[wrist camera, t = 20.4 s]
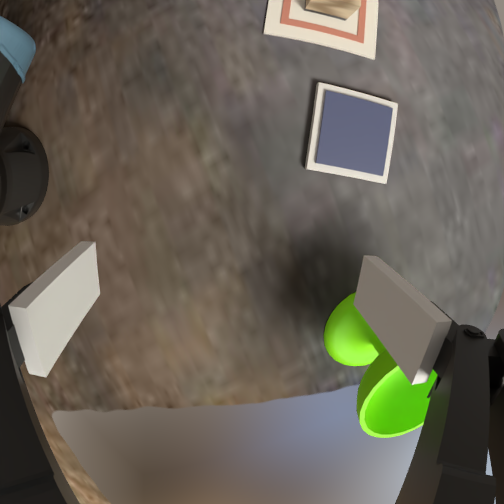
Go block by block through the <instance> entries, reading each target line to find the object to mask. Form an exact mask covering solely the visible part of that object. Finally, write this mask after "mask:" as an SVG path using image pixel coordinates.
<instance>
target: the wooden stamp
mask: <svg viewBox="0 0 504 504" xmlns="http://www.w3.org/2000/svg"><path fill="white" fill-rule="evenodd" d="M360 7H361V0H305V7H304V11H308V12H313V13H317V14H321V15H325V16H329V17H333V18H337V19H340V20H344V21H345V20H346V19H348V18H349V17H350V16H351V15H352V14H353V13H354V12H355V11H356V10H358V9H359V8H360Z"/></svg>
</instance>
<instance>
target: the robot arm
mask: <svg viewBox="0 0 504 504" xmlns="http://www.w3.org/2000/svg"><path fill="white" fill-rule="evenodd" d="M35 52H36V45H35V42H34V40H33V39H32V37H31V36H30V35H29V34H27V33H26V32H25V31H24V30H22V29H21V28H19V27H18V26H16V25H15V24H13V23H12V22H10V21H8V20H7V19H5V18H3V17H1V16H0V225H5V226H10V225H15V224H18V223H20V222H23V221H25V220H27V219H28V218H30V217H31V216H32V215H33V214H35V212H36V211H37V210H38V209H39V207H40V206H41V204H42V202H43V200H44V197H45V194H46V191H47V186H48V177H49V170H48V161H47V157H46V153H45V151H44V148H43V146H42V144H41V142H40V141H39V139H38V138H37V137H36V136H35V135H34V134H33V133H32V132H31V131H29V130H27V129H25V128H22V127H5V128H3V127H4V124H5V121H6V119H7V116H8V114H9V111H10V109H11V107H12V104H13V102H14V100H15V97H16V95H17V93H18V91H19V88H20V86H21V84H22V83H24V81H25V75H26V72H27V70H28V68H29V66H30V64H31V62H32V59H33V57H34V55H35ZM99 295H100V288H99V279H98V269H97V258H96V245H95V242H86V241H81V242H80V243H79V244H78V245H76V246H75V247H74V248H73V249H71V250H70V251H69V252H68V253H67V254H65V255H64V256H63V257H62V258H61V259H59V260H58V261H57V262H56V263H55V264H54V265H52V266H51V267H50V268H49V269H48V270H47V271H45V272H44V273H43V274H42V275H41V276H40V277H39V278H38V279H36V280H35V281H34V282H32V283H30V284H28V285H26V286H24V287H23V288H22V289H21V290H19V291H18V292H17V294H15V295H14V296H13V297H12V298H11V299H10V300H9V301H8V302H6V303H5V304H4V305H3V306H2V307H1V305H0V504H80V503H79V502H78V500H77V498H76V496H75V495H74V493H73V491H72V489H71V488H70V486H69V484H68V482H67V480H66V478H65V477H64V475H63V473H62V471H61V469H60V467H59V465H58V463H57V461H56V459H55V457H54V455H53V452H52V450H51V448H50V446H49V444H48V441H47V439H46V437H45V435H44V432H43V430H42V427H41V425H40V423H39V420H38V417H37V415H36V412H35V410H34V407H33V404H32V402H31V399H30V396H29V393H28V390H27V387H26V384H25V381H24V378H23V375H22V372H21V369H20V366H21V365H22V363H23V362H24V361H25V363H26V366H27V369H28V372H29V374H33V375H38V376H42V377H47V375H48V373H49V372H50V370H51V368H52V367H53V365H54V363H55V362H56V360H57V359H58V357H59V355H60V354H61V352H62V351H63V349H64V347H65V346H66V344H67V343H68V341H69V340H70V338H71V336H72V335H73V333H74V332H75V330H76V329H77V327H78V326H79V324H80V323H81V321H82V320H83V318H84V317H85V315H86V314H87V312H88V311H89V309H90V308H91V306H92V305H93V304H94V302H95V301H96V299H97V298H98V296H99ZM353 305H354V306H355V307H356V309H357V310H358V311H359V313H360V314H361V315H362V317H363V318H364V319H365V321H366V322H367V323H368V325H369V326H370V327H371V329H372V330H373V331H374V333H375V334H376V336H377V337H378V338H379V340H380V341H381V342H382V344H383V345H384V347H385V348H386V349H387V351H388V352H389V354H390V355H391V356H392V358H393V359H394V361H395V362H396V363H397V365H398V366H399V368H400V369H401V370H402V372H403V373H404V375H405V376H406V378H407V379H408V380H409V382H410V383H411V385H413V384H419V383H425V382H427V381H428V379H429V376H430V374H431V372H432V370H434V371H435V372H436V374H437V377H436V380H435V382H434V384H433V386H432V388H431V390H430V392H429V394H428V396H427V398H430V401H429V405H428V409H427V413H426V416H425V420H424V424H423V427H422V430H421V434H420V437H419V440H418V444H417V447H416V450H415V453H414V456H413V459H412V462H411V464H410V467H409V470H408V473H407V475H406V478H405V481H404V483H403V486H402V488H401V491H400V493H399V496H398V498H397V500H396V503H395V504H494V500H495V499H496V504H504V329H501V330H500V331H499V333H498V335H497V338H496V340H493V339H487V338H486V335H485V334H484V332H483V331H481V330H480V329H478V328H476V327H474V326H471V325H460V326H459V325H458V324H457V323H456V322H454V321H453V320H452V319H451V318H450V317H449V316H448V315H447V314H445V312H443V311H442V310H441V309H439V307H438V306H437V305H436V304H434V303H433V302H432V301H430V300H428V299H427V298H426V297H425V296H424V295H423V294H421V293H420V292H419V291H418V290H417V289H416V288H415V287H413V286H412V285H411V284H410V283H409V282H408V281H406V280H405V279H404V278H403V277H402V276H400V275H399V274H398V273H397V272H396V271H395V270H393V269H392V268H391V267H390V266H388V265H387V264H386V263H385V262H384V261H382V260H381V259H380V258H379V257H378V256H368V255H364V257H363V262H362V267H361V272H360V276H359V281H358V286H357V290H356V295H355V299H354V303H353ZM430 396H431V397H430ZM488 449H489V455H490V461H491V467H492V474H493V476H490V475H486V464H487V454H488ZM495 497H496V498H495Z"/></svg>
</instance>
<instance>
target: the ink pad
mask: <svg viewBox="0 0 504 504" xmlns="http://www.w3.org/2000/svg"><path fill="white" fill-rule="evenodd" d="M397 108H398V104H397V103H394V102H391V101H387V100H384V99H381V98H378V97H374V96H371V95H367V94H364V93H360V92H357V91H353V90H349V89H345V88H341V87H337V86H333V85H329V84H325V83H320V82H319V83H317V84H316V92H315V100H314V107H313V114H312V122H311V129H310V136H309V142H308V149H307V156H306V162H305V169H309V170H315V171H321V172H327V173H332V174H338V175H343V176H348V177H354V178H359V179H364V180H369V181H374V182H378V183H383V184H386V182H387V177H388V171H389V165H390V159H391V152H392V146H393V139H394V132H395V124H396V116H397Z"/></svg>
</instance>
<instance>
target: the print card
mask: <svg viewBox="0 0 504 504" xmlns="http://www.w3.org/2000/svg"><path fill="white" fill-rule="evenodd" d="M304 7H305V0H269V2H268V8H267V14H266V21H265V27H264V34H267V35H273V36H279V37H285V38H290V39H295V40H300V41H305V42H310V43H314V44H318V45H323V46H327V47H331V48H335V49H338V50H342V51H346V52H349V53H353V54H356V55H360V56H363V57H366V58H369V59H373V60H375V50H376V36H377V18H378V0H361V7H360V8H359V9H358V10H356V11H355V12H354V13H353V14H352V15H351V16H350V17H349V18H348V19H346V20H345V21H344V20H340V19H337V18H333V17H329V16H325V15H321V14H317V13H313V12H308V11H304Z"/></svg>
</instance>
